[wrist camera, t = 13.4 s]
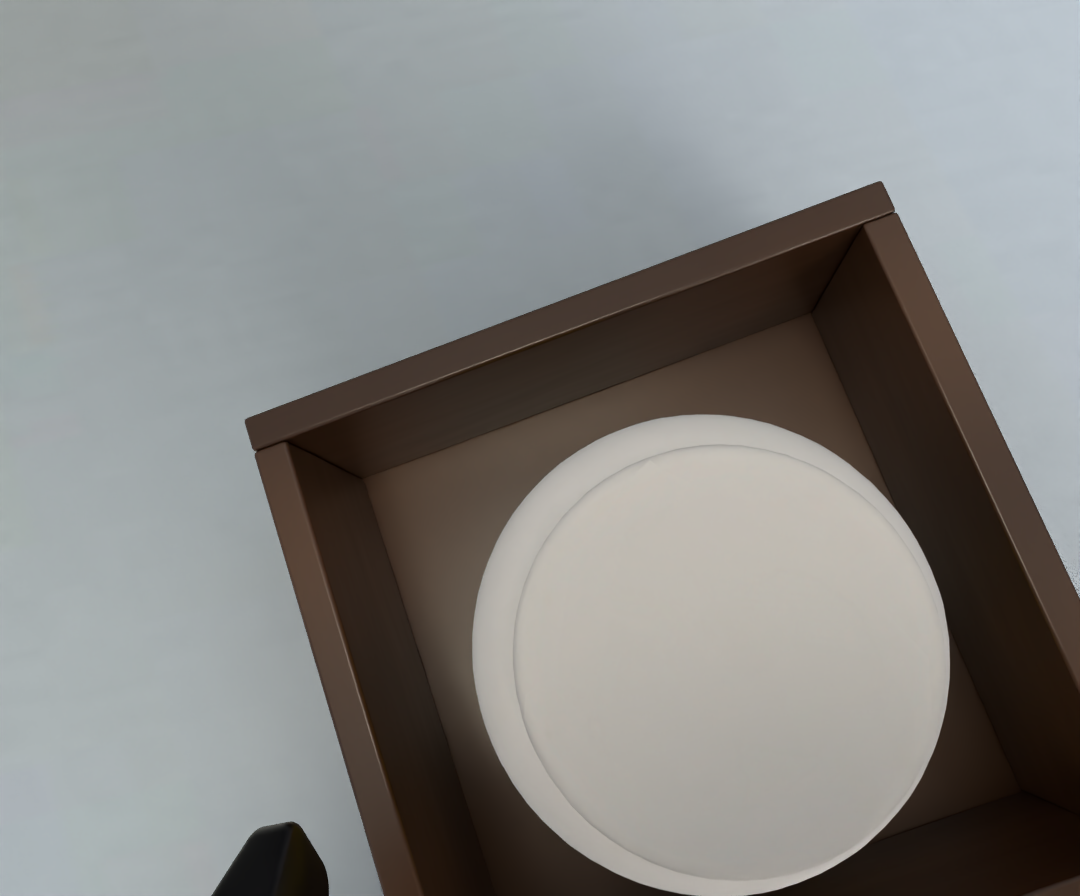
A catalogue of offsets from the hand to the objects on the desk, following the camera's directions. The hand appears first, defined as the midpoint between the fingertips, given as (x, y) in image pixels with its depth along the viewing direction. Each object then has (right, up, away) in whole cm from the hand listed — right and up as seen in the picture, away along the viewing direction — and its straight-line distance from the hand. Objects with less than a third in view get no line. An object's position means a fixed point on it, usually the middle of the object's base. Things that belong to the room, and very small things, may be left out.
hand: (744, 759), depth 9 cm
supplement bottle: (+1, -1, +10) cm, 10 cm away
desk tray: (+1, -1, +10) cm, 10 cm away
